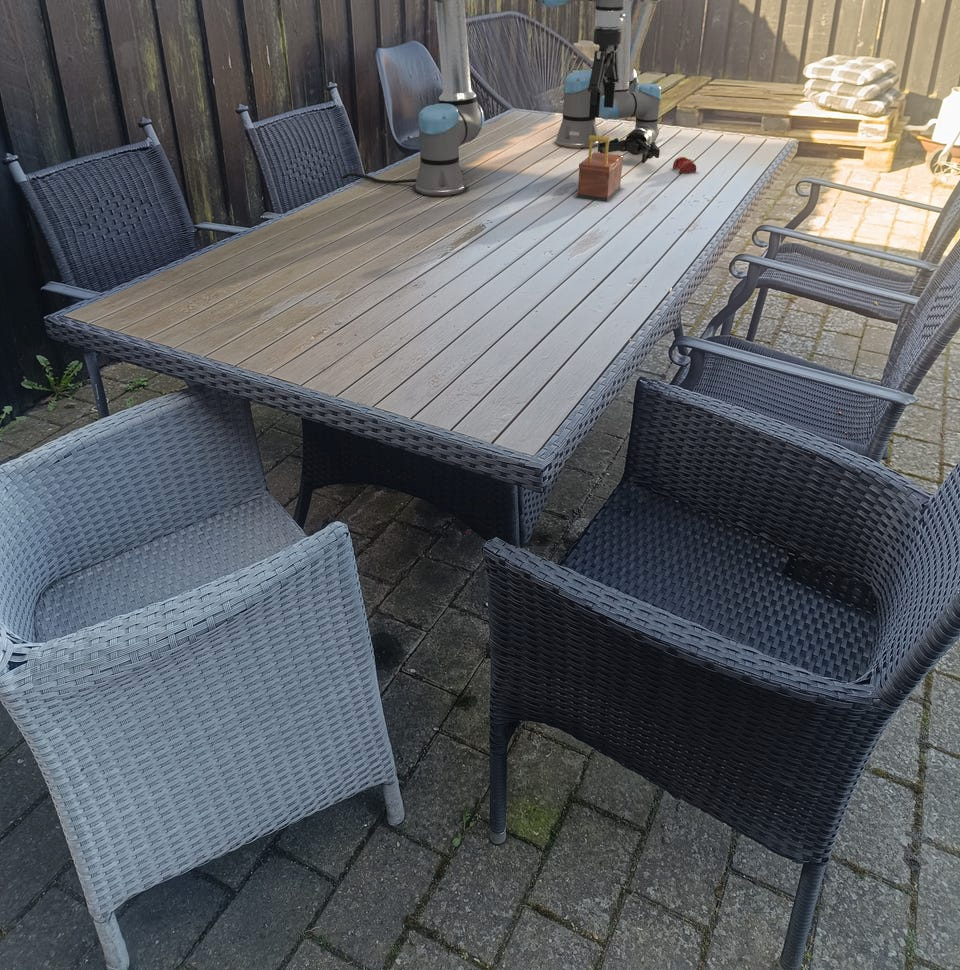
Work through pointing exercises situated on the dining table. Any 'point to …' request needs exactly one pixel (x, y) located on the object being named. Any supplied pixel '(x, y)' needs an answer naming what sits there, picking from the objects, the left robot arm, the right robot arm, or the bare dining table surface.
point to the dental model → (684, 165)
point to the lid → (600, 156)
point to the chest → (599, 183)
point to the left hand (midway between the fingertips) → (601, 112)
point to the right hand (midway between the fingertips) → (622, 156)
